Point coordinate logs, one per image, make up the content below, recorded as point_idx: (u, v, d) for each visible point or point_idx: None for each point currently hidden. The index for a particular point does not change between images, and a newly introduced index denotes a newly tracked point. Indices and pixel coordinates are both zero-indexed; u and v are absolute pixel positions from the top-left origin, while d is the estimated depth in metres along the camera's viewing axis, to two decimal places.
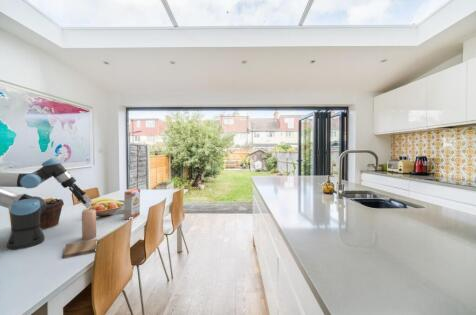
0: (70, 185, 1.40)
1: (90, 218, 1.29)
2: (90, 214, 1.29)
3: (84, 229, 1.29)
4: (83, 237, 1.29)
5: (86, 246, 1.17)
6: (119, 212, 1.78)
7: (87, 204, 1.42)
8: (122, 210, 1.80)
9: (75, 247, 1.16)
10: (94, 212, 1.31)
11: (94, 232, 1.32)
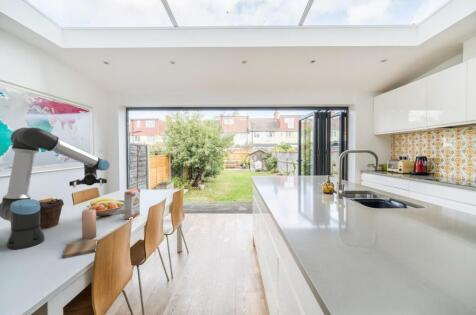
0: None
1: (90, 218, 1.29)
2: (90, 214, 1.29)
3: (84, 229, 1.29)
4: (83, 237, 1.29)
5: (86, 246, 1.17)
6: (119, 212, 1.79)
7: None
8: (122, 210, 1.80)
9: (75, 247, 1.16)
10: (94, 212, 1.31)
11: (94, 232, 1.32)
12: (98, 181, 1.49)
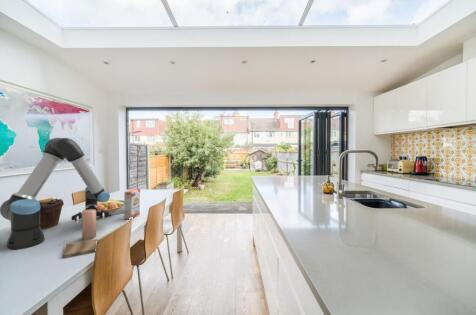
0: None
1: (90, 218, 1.29)
2: (90, 214, 1.29)
3: (84, 229, 1.29)
4: (83, 237, 1.29)
5: (86, 246, 1.17)
6: (119, 212, 1.79)
7: None
8: (122, 210, 1.80)
9: (75, 247, 1.16)
10: (94, 212, 1.31)
11: (94, 232, 1.32)
12: (100, 214, 1.49)
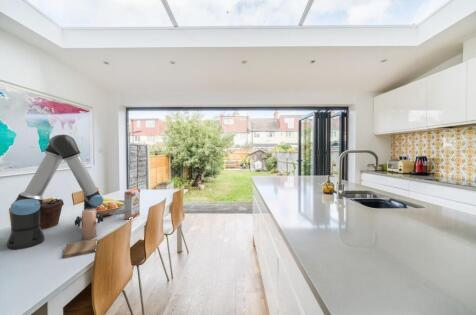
0: (96, 215, 1.46)
1: (90, 218, 1.29)
2: (90, 214, 1.29)
3: (84, 229, 1.29)
4: (83, 237, 1.29)
5: (86, 246, 1.17)
6: (119, 212, 1.79)
7: (97, 223, 1.32)
8: (122, 210, 1.80)
9: (75, 247, 1.16)
10: (94, 212, 1.31)
11: (94, 232, 1.32)
12: None
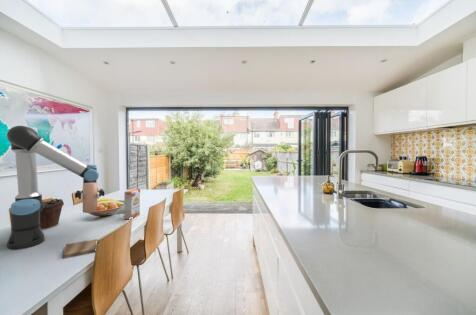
0: (97, 191, 1.41)
1: (91, 191, 1.25)
2: (91, 186, 1.25)
3: (85, 201, 1.24)
4: (84, 210, 1.25)
5: (86, 246, 1.17)
6: (118, 212, 1.79)
7: None
8: (121, 210, 1.80)
9: (75, 247, 1.16)
10: (95, 184, 1.27)
11: (95, 205, 1.27)
12: None
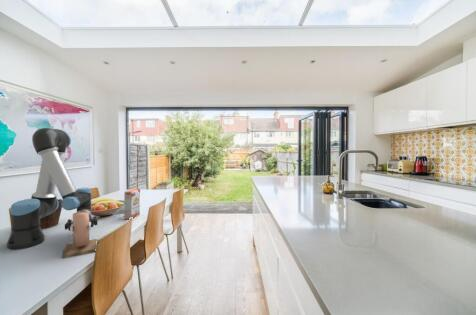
0: (90, 218, 1.30)
1: (82, 222, 1.14)
2: (82, 217, 1.14)
3: (75, 234, 1.13)
4: (74, 243, 1.14)
5: (86, 246, 1.17)
6: (118, 212, 1.79)
7: (90, 227, 1.16)
8: (121, 210, 1.81)
9: (75, 247, 1.16)
10: (87, 215, 1.16)
11: (87, 237, 1.17)
12: None
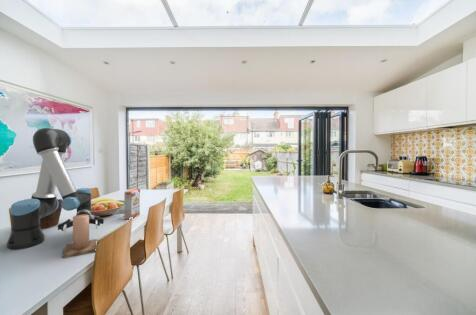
0: None
1: (82, 225, 1.14)
2: (82, 220, 1.14)
3: (75, 237, 1.13)
4: (74, 246, 1.14)
5: None
6: (118, 212, 1.79)
7: (97, 225, 1.19)
8: (121, 210, 1.81)
9: None
10: (87, 218, 1.16)
11: (87, 240, 1.17)
12: (93, 222, 1.24)
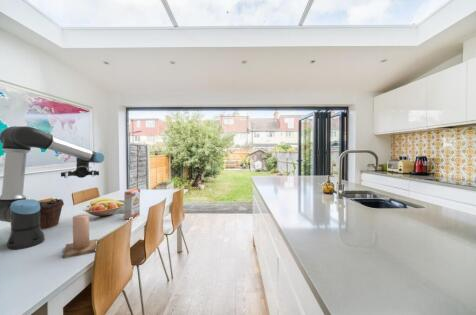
0: None
1: (82, 225, 1.14)
2: (82, 220, 1.14)
3: (75, 237, 1.13)
4: (74, 246, 1.14)
5: None
6: (117, 212, 1.80)
7: (93, 174, 1.44)
8: (120, 210, 1.81)
9: None
10: (87, 218, 1.16)
11: (87, 240, 1.17)
12: (90, 173, 1.49)
